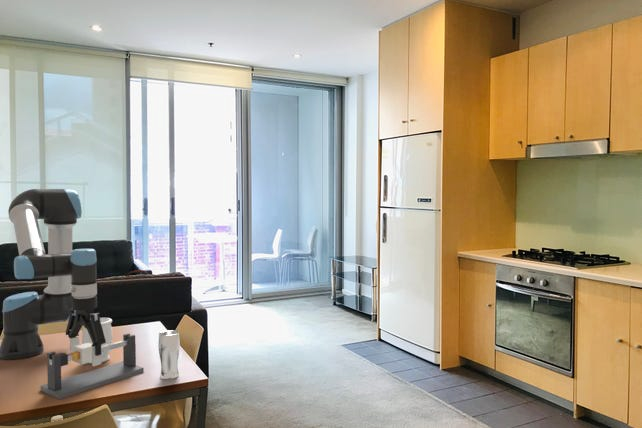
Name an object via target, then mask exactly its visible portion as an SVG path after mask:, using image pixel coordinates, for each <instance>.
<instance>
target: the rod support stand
mask: <svg viewBox="0 0 642 428" xmlns="http://www.w3.org/2000/svg"><path fill="white" fill-rule="evenodd" d="M127 339H128V345H126V346H123V347H122V348H123V349H122V351H123V353H122V355H123V358H122V359H123V361H120V362H116V363H113V364H109V365H107V366H102V367H100V368H96V369H92V370H89V371H86V372H83V373H80V374H76V375H75V374H74V375H72V376H69V377H66V378H62V366H61V354H59V353H56V351H52V352H48V353H46V354H47V355H46V356H47V361H46V362H47V363H46V365H47V366H46V367H47V369H46V370H47V383H45V384H42V385H40V386H39V389H40V390H39V391H41V392H43V393H45V394H47V395H49V396H51V397H53V398H56V399H58V400H62V399H65V398H67V397H72V396H74V395H77V394H81V393H83V392H86V391H90V390H93V389H97V388H98V387H103V386H105V385H108V384H110V383H114V382H118V381H121V380H123V379H126V378H130V377H133V376H136V375H139V374H142V373H144V368H145V367H143V366H140V365H137V361H136V360H137V357H136V356H137V352H136V349H137V348H136V344H137V343H136V334H131V333H124V334H123V337H122V341H123V340H127ZM49 359H52V365H50V363H49Z"/></svg>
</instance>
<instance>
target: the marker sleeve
mask: <svg viewBox="0 0 642 428" xmlns="http://www.w3.org/2000/svg"><path fill="white" fill-rule="evenodd" d="M75 351H77V352H80V359H79V360H75V361H73V362H74V363H77V364H80V365H85V364H90V363H89V362H92V344H91V343H85V344H82V343H81V344H79V345H77V346H74V352H75Z"/></svg>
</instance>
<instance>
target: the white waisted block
mask: <svg viewBox="0 0 642 428" xmlns="http://www.w3.org/2000/svg"><path fill="white" fill-rule="evenodd" d="M180 340H181V339H180V332H179V331H178V330H173V329H171V330H169V329H168V330H162V331H160V332H159V333H158V347H157V348H158V354H159V359H160V360H159V361H160V367H161V368H160V369H161V370H160V374H159V378H160V379H161V380H173V379H177V378H178V377H179V375H180V374H179V368H178V364H179V362H178V361H179V356H180V348H181V342H180Z"/></svg>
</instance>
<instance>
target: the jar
mask: <svg viewBox="0 0 642 428" xmlns="http://www.w3.org/2000/svg"><path fill="white" fill-rule="evenodd" d="M100 322H101V326H102V329H103V333H104V337H105V340H106V343H104V344H102V345H101V346H103V345H107V344H111V343H113V327H112V323H113V319H112V318H110V317H100ZM82 327H83V328H82V332H81V344H85V343H91V344H93V342H92V340H91V338H90V335H89V333H88V330H87V329H86V328H85V327H84V326H83V325H82ZM110 353H111V350H108V351H104V352H101V364H103V363H105V362H107V361H109V360H110V358H111V357H110V355H109V354H110ZM88 364H91V365H92V362H89V363H88Z"/></svg>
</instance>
